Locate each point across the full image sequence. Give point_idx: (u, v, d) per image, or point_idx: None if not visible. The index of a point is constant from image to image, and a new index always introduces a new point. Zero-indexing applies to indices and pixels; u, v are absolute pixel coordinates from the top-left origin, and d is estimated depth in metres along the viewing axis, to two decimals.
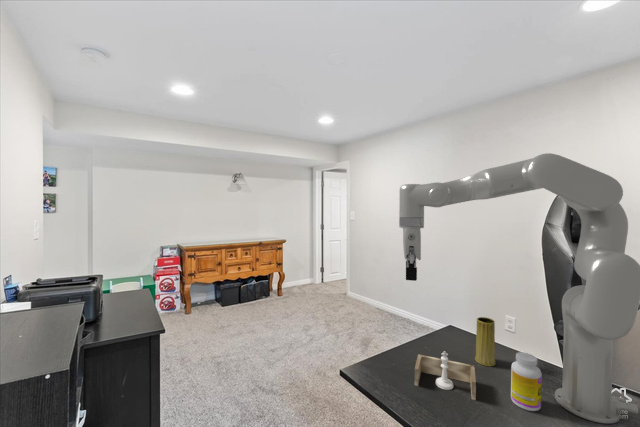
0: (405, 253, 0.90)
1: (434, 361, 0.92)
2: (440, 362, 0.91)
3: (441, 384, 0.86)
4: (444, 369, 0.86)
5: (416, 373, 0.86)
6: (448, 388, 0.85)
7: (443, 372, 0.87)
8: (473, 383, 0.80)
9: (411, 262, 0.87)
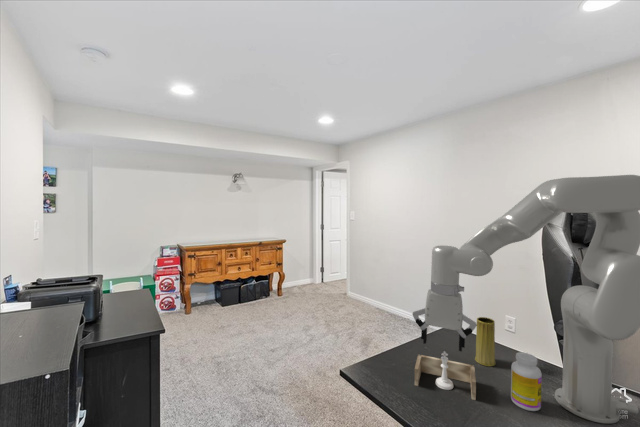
0: (461, 323, 0.83)
1: (434, 361, 0.92)
2: (440, 362, 0.91)
3: (441, 384, 0.86)
4: (444, 369, 0.86)
5: (416, 373, 0.86)
6: (448, 388, 0.85)
7: (443, 372, 0.87)
8: (473, 383, 0.80)
9: None
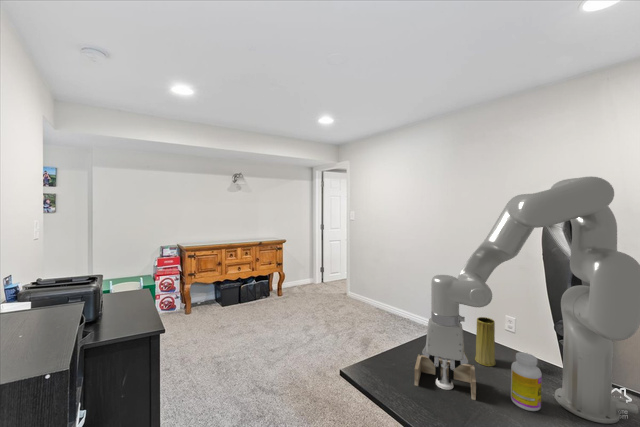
0: (462, 354, 0.83)
1: None
2: (440, 362, 0.91)
3: (441, 384, 0.86)
4: (444, 369, 0.86)
5: (416, 373, 0.86)
6: (448, 388, 0.85)
7: (443, 372, 0.87)
8: (473, 383, 0.80)
9: None
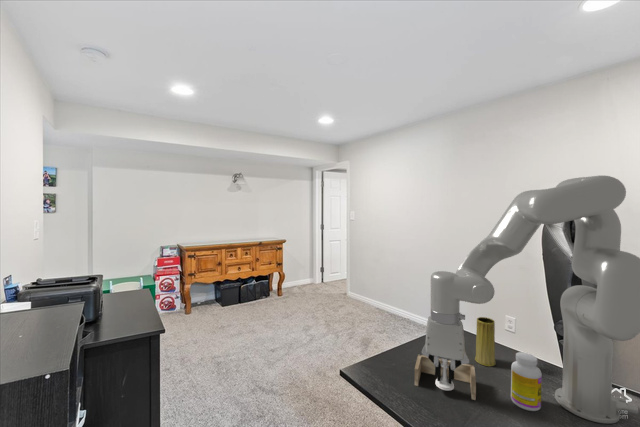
0: (463, 354, 0.80)
1: None
2: (440, 362, 0.91)
3: (441, 384, 0.82)
4: (444, 369, 0.83)
5: (416, 373, 0.86)
6: (448, 388, 0.81)
7: (443, 372, 0.83)
8: (473, 383, 0.80)
9: None
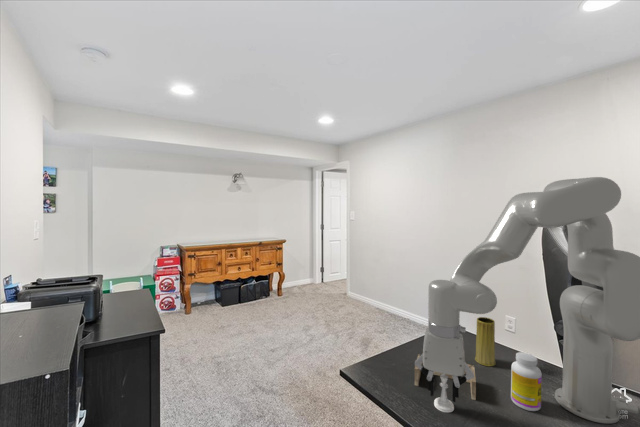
0: (463, 369, 0.74)
1: None
2: None
3: (440, 406, 0.77)
4: (443, 389, 0.77)
5: (416, 373, 0.86)
6: (447, 410, 0.76)
7: (442, 392, 0.78)
8: (473, 383, 0.80)
9: None
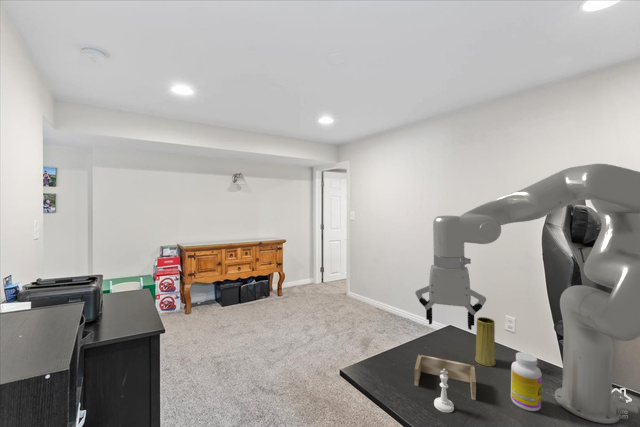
0: (469, 299, 0.75)
1: (434, 361, 0.92)
2: (440, 362, 0.91)
3: (440, 406, 0.77)
4: (443, 389, 0.77)
5: (416, 373, 0.86)
6: (447, 410, 0.76)
7: (442, 392, 0.78)
8: (473, 383, 0.80)
9: None
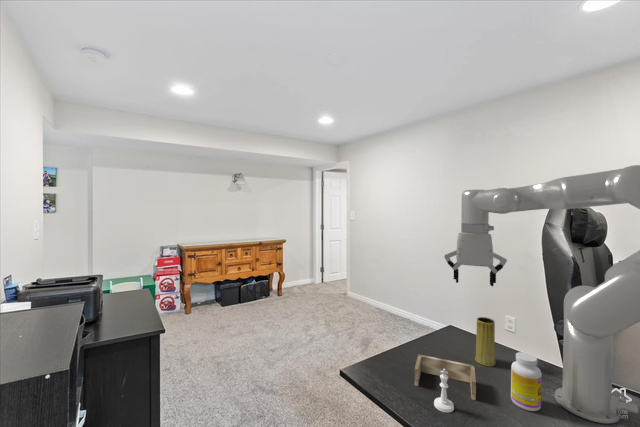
0: (492, 260, 0.89)
1: (434, 361, 0.92)
2: (440, 362, 0.91)
3: (440, 406, 0.77)
4: (443, 389, 0.77)
5: (416, 373, 0.86)
6: (447, 410, 0.76)
7: (442, 392, 0.78)
8: (473, 383, 0.80)
9: (502, 266, 0.89)
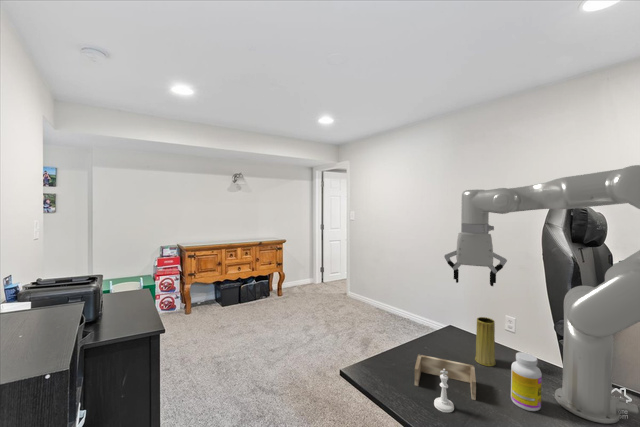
0: (492, 260, 0.89)
1: (434, 361, 0.92)
2: (440, 362, 0.91)
3: (440, 406, 0.77)
4: (443, 389, 0.77)
5: (416, 373, 0.86)
6: (447, 410, 0.76)
7: (442, 392, 0.78)
8: (473, 383, 0.80)
9: (502, 266, 0.89)
